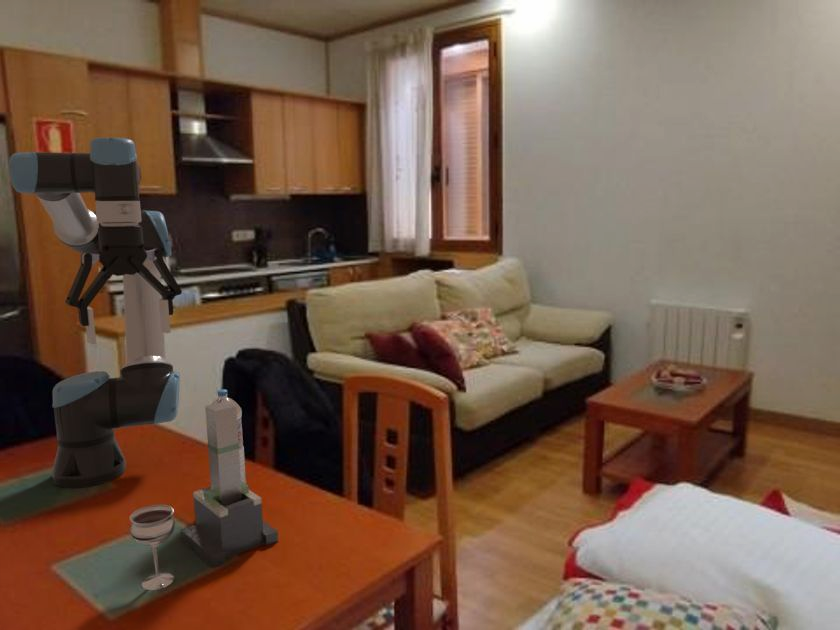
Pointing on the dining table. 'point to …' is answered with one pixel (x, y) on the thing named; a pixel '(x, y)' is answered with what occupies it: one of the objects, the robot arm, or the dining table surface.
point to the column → (223, 455)
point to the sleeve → (227, 528)
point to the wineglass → (153, 538)
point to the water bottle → (222, 398)
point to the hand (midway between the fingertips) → (130, 337)
